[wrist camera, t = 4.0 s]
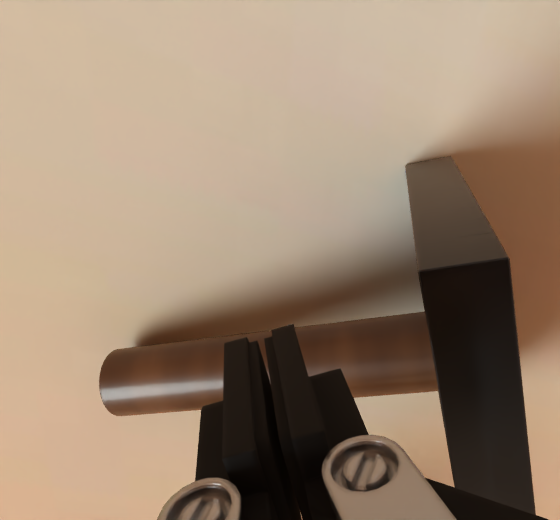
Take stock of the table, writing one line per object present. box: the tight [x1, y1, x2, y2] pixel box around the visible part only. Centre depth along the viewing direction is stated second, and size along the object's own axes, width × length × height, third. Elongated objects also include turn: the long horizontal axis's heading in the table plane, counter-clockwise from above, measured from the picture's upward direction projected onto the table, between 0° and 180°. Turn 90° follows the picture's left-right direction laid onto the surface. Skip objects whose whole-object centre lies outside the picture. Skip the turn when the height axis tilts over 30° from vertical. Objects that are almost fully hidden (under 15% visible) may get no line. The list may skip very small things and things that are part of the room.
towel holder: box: [99, 156, 536, 515], centre depth 19 cm, size 18×12×12 cm
